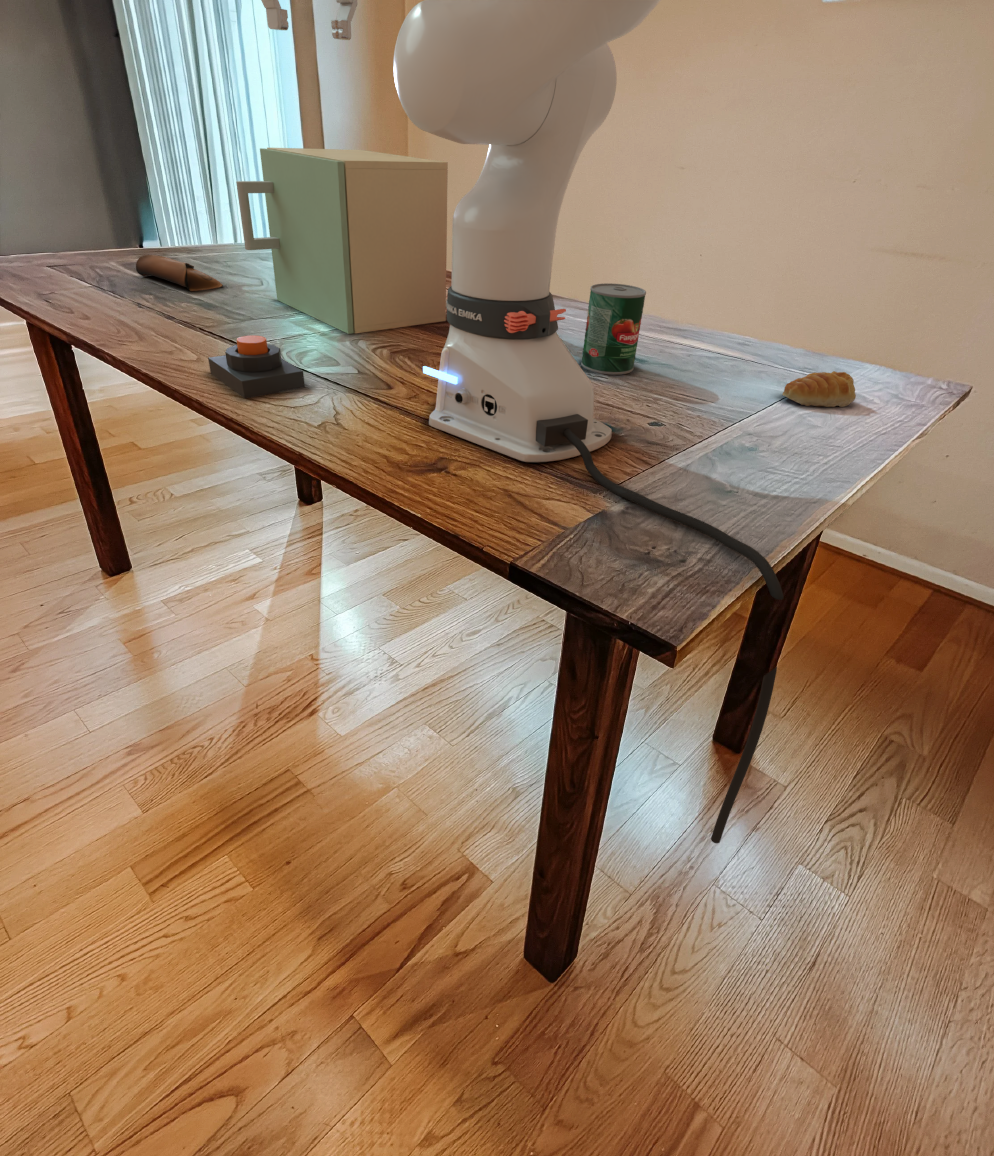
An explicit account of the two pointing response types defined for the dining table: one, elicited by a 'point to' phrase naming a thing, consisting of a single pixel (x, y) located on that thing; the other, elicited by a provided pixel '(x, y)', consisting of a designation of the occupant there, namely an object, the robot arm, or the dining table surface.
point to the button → (252, 345)
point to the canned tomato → (612, 328)
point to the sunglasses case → (176, 272)
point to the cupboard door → (304, 233)
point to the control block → (256, 372)
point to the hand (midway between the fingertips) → (311, 35)
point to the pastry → (822, 389)
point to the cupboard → (393, 236)
